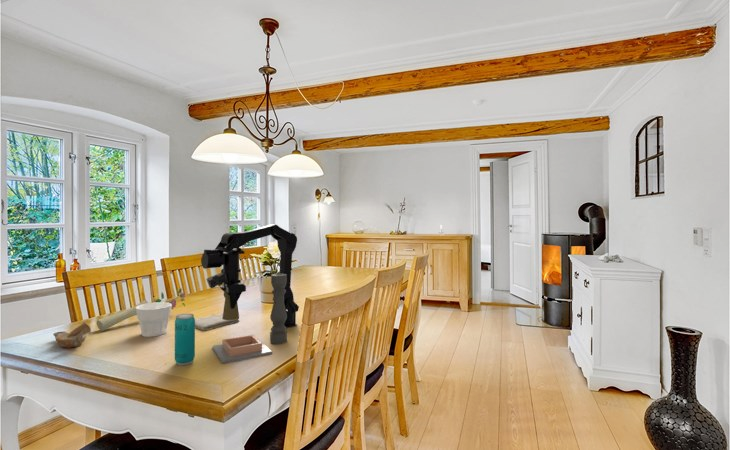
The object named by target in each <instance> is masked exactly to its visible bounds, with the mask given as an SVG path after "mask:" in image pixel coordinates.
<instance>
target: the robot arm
mask: <svg viewBox="0 0 730 450" xmlns="http://www.w3.org/2000/svg"><path fill="white" fill-rule="evenodd" d="M269 236H271V237H272V239H274V240H275V241H277V248H278V250H279V253H280V257H279V273H278V274H287V283H286V286H285V288H284V289H285V290H286V293H285V294H284V304H285V309H286V313H287V319H286V321H285V324H284V325H285V327H286V328H290V327H295V326H298V323H297V322H296V321H297V318H296V317H297V315H296V314H297V312H299V309H300V306H299V305H298V304H297V302H295V299H294V293H293V290H292V288H291V285H292V284H291V283H292V282H291V281H292V266H293V265H292V263H293V254H294V252H295V250H296V247H297V244H298V237H297V235H296V234H295V233H293V232H290V231H287V230H286V229H284V228H282V227H280V226H279V225H277V224H275V223H274V224H273V223H272V224H271V223H270V224H269V223H268V224H267V225H265V226H261V227H257V228H253V229H249V230H245V231H239V232H238V231H236V232H225V233H224V234H222V236H221V238H220V241H219V243H218V244H217V245H216V247H215V248H214V249H204V250H203V254H202V256H201V258H200V263H201V264H200V265H201V267H202V268H203V269H205V270H206V269H216V268H221V267H222V268H221V270H220V273H217V274H214V275H212V276H209V277H207V278H206V282H207V285H208V287H209V288H210V289H213V288H216V287H217V286H218V287H219V289H220V290H222V292H224V291H225V290H226V291H225V292H226V293H227V294H228V295H229V300H230V306H231V309H234V308H235V305H236V303H237V304H238V301H239V299H240V297H241V295H242V293H244V292H246V291H247V285H245V284H244V283H243V282H241V281H242V280H241V279H240V273H242V272H241V271H242V269H241V268H240V255H244V254H245V251H244V250H243V249H242V247H243V246H245V245H246V244H247V243H249V242H252V241H255V240H258V239H262V238H265V237H269ZM272 295H273V294H272ZM272 301H273V302H274V295H273V297H272Z"/></svg>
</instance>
